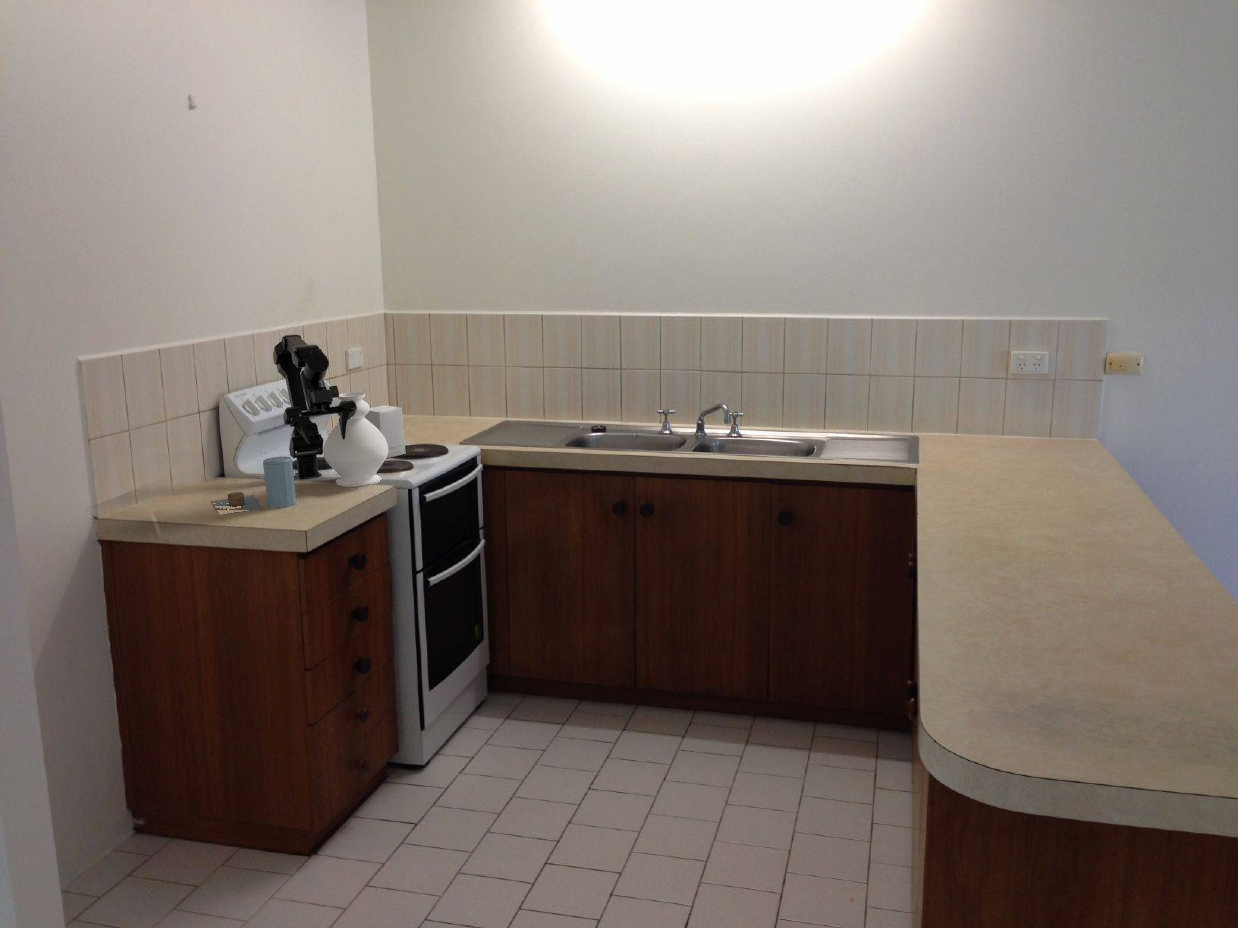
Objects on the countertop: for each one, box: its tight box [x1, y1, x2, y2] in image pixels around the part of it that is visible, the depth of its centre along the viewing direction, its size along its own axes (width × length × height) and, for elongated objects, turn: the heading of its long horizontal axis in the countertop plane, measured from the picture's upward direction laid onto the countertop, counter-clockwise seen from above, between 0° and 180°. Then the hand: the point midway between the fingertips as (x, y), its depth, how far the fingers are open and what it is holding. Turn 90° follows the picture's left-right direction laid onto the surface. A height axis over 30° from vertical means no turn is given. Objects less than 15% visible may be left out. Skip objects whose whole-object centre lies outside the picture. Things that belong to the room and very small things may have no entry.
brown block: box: [227, 491, 245, 507], centre depth 285 cm, size 4×4×3 cm
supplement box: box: [364, 404, 406, 459], centre depth 339 cm, size 9×9×15 cm
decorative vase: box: [323, 391, 388, 488], centre depth 306 cm, size 18×18×25 cm
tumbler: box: [262, 456, 297, 509], centre depth 284 cm, size 7×7×12 cm
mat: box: [210, 495, 264, 514], centre depth 286 cm, size 16×11×1 cm
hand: (326, 441), depth 290 cm, fingers open, 9 cm apart
